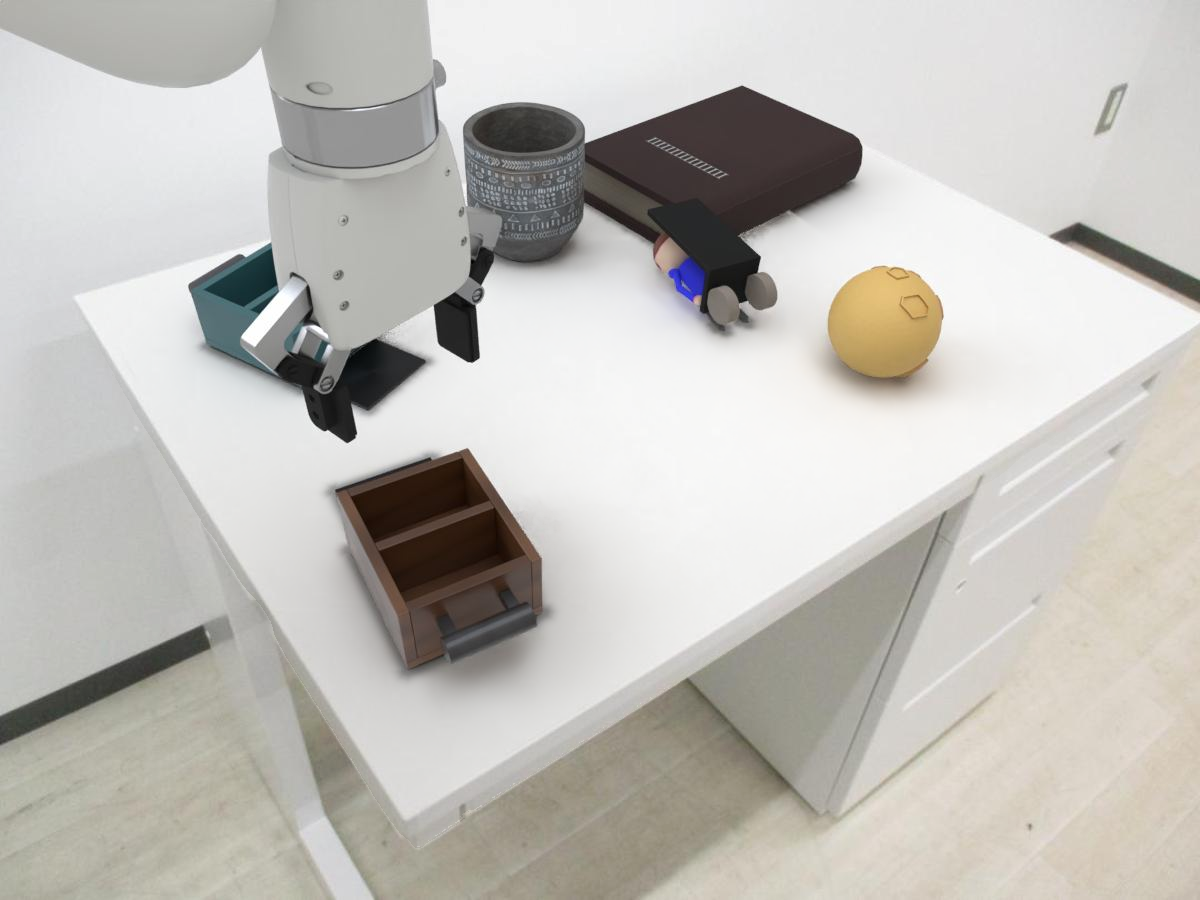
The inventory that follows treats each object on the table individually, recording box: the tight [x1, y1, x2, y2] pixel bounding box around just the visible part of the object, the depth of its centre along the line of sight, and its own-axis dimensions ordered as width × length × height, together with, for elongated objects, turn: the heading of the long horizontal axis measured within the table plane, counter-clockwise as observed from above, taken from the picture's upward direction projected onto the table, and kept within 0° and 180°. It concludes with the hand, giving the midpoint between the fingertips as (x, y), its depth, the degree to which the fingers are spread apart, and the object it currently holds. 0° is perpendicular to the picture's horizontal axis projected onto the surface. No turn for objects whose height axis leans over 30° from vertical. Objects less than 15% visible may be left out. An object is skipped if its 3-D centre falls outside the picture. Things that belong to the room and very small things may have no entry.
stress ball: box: [827, 265, 945, 379], centre depth 85 cm, size 10×10×10 cm
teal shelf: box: [187, 242, 361, 388], centre depth 87 cm, size 15×10×6 cm, turn 60°
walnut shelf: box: [335, 447, 543, 670], centre depth 65 cm, size 15×10×6 cm, turn 30°
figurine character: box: [647, 198, 778, 332], centre depth 93 cm, size 7×8×15 cm
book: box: [584, 84, 864, 245], centre depth 110 cm, size 28×20×6 cm
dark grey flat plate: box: [338, 338, 426, 411], centre depth 85 cm, size 6×8×1 cm
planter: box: [462, 101, 586, 263], centre depth 98 cm, size 12×12×13 cm
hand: (400, 389), depth 57 cm, fingers open, 9 cm apart
